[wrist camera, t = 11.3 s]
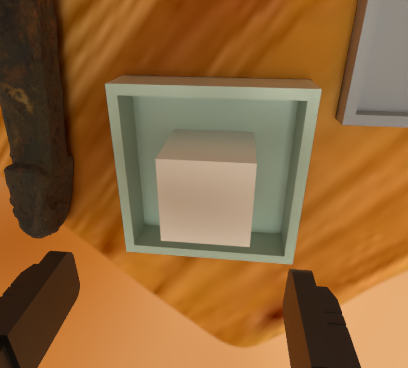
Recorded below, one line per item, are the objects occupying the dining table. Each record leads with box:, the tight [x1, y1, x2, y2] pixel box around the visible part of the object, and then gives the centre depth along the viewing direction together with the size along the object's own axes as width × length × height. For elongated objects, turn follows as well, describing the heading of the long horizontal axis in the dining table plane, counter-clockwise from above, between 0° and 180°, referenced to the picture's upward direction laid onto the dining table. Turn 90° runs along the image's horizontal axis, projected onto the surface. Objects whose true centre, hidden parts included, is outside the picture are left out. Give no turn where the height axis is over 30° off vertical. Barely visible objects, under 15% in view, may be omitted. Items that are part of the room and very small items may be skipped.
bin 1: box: [105, 75, 322, 264], centre depth 20 cm, size 11×11×3 cm
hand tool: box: [0, 0, 74, 238], centre depth 19 cm, size 19×4×5 cm, turn 173°
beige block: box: [155, 129, 257, 247], centre depth 19 cm, size 5×5×5 cm
